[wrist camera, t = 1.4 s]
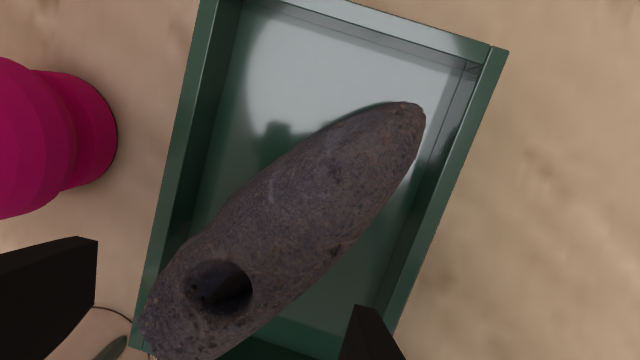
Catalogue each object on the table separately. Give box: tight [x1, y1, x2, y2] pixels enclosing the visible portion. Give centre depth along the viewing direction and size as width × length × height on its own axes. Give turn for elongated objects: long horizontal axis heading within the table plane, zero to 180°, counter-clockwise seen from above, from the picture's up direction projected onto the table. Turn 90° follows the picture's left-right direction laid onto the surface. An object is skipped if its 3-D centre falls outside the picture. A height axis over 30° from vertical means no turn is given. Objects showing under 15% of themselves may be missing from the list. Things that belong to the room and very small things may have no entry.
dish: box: [128, 0, 509, 360], centre depth 18 cm, size 13×19×3 cm, turn 163°
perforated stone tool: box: [137, 101, 426, 360], centre depth 16 cm, size 15×5×7 cm, turn 131°
